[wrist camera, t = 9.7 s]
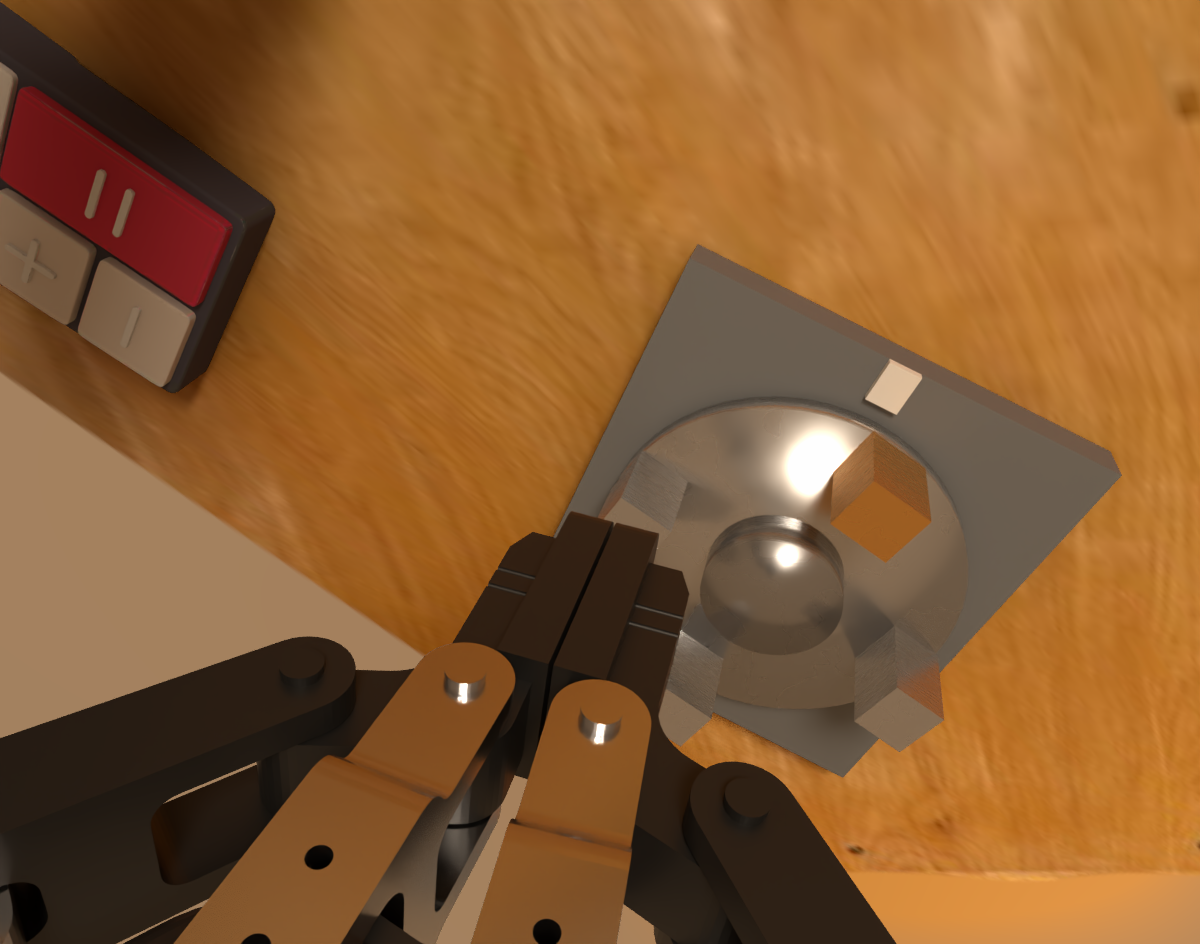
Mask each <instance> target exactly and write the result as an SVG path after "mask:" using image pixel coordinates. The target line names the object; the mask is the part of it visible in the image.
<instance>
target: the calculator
mask: <svg viewBox="0 0 1200 944" xmlns="http://www.w3.org/2000/svg"><path fill="white" fill-rule="evenodd" d="M274 215H275V208H274V206H273V204H272V203H271V202H270V201H269V200H268V199H267V198H265V197H264V196H263V195H261V194H260V193H259V192H257V191H256V190H255V189H253V188H252V187H251V186H249V185H248V184H246V183H245V182H244V181H242V180H241V179H240V178H238V177H237V176H236V175H234V174H233V173H232V172H230V171H229V170H227V169H226V168H225V167H223V166H222V165H221V164H219V163H218V162H217V161H215V160H214V159H212V158H211V157H210V156H208V155H207V154H206V153H204V152H203V151H202V150H200V149H199V148H197V147H196V146H195V145H193V144H192V143H191V142H189V141H188V140H187V139H185V138H184V137H182V136H181V135H180V134H178V133H177V132H175V131H174V130H173V129H171V128H170V127H168V126H167V125H165V124H164V123H163V122H161V121H160V120H158V119H157V118H155V117H154V116H153V115H151V114H150V113H148V112H147V111H145V110H144V109H143V108H141V107H140V106H138V105H137V104H135V103H134V102H133V101H131V100H130V99H128V98H127V97H125V96H124V95H123V94H121V93H120V92H118V91H117V90H115V89H114V88H113V87H111V86H110V85H108V84H107V83H105V82H104V81H103V80H101V79H100V78H98V77H97V76H95V75H94V74H93V73H91V72H90V71H88V70H87V69H86V68H84V67H83V66H81V65H80V64H79V63H78V61H77V60H76V58H75V57H74V56H73V55H71V54H70V53H69V52H67V51H66V50H65V49H63V48H62V47H61V46H59V45H58V44H57V43H55V42H54V41H53V40H51V39H50V38H48V37H47V36H46V35H44V34H43V33H42V32H40V31H39V30H38V29H36V28H35V27H33V26H32V25H31V24H29V23H28V22H27V21H25V20H24V19H23V18H21V17H20V16H19V15H17V14H16V13H14V12H13V11H12V10H10V9H9V8H8V7H6V6H5V5H3V4H2V3H0V284H1V285H3V286H4V287H6V288H7V289H9V290H10V291H12V292H14V293H15V294H17V295H18V296H20V297H21V298H23V299H24V300H26V301H27V302H29V303H30V304H32V305H33V306H35V307H37V308H38V309H40V310H41V311H43V312H44V313H46V314H47V315H49V316H50V317H52V318H53V319H55V320H57V321H58V322H60V323H62V324H64V325H66V326H68V327H69V328H71V329H72V330H74V331H76V332H77V333H79V334H80V336H82V337H83V338H84V339H86V340H87V341H89V342H90V343H92V344H93V345H95V346H97V347H98V348H100V349H101V350H103V351H104V352H106V353H107V354H109V355H110V356H112V357H113V358H115V359H116V360H118V361H120V362H121V363H123V364H124V365H126V366H127V367H129V368H130V369H132V370H133V371H135V372H136V373H138V374H140V375H141V376H143V377H144V378H146V379H147V380H149V381H150V382H152V383H153V384H155V385H157V386H159V387H162V388H163V389H165V390H166V391H168V392H170V393H176V392H178V391H179V390H181V389H182V388H184V387H185V386H186V385H188V384H189V383H190V382H192V381H193V380H194V379H196V378H197V377H198V376H200V375H201V374H202V373H204V372H205V371H206V370H207V368H208V366H209V364H210V361H211V359H212V357H213V354H214V352H215V350H216V348H217V345H218V343H219V341H220V339H221V336H222V334H223V332H224V329H225V327H226V325H227V323H228V320H229V318H230V316H231V314H232V311H233V309H234V307H235V304H236V302H237V300H238V298H239V295H240V293H241V291H242V289H243V286H244V284H245V282H246V279H247V277H248V275H249V273H250V270H251V268H252V266H253V263H254V261H255V259H256V257H257V254H258V252H259V250H260V248H261V245H262V243H263V241H264V238H265V236H266V234H267V232H268V229H269V227H270V225H271V222H272V220H273V218H274Z"/></svg>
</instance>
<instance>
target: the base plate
mask: <svg viewBox="0 0 1200 944" xmlns="http://www.w3.org/2000/svg"><path fill="white" fill-rule="evenodd" d="M773 396H779V397H792V398H803V399H808V400H813V401H818V402H823V403H829V404H832V405H835V406H838V407H841V408H844V409H847V410H850V411H853V412H855V413H858V414H860V415H862V416H864V417H866V418H868V419H870V420H873V421H875V422H877V423H879V424H880V425H882V426H883V427H885V428H887V429H888V430H890V431H891V432H893V433H895V434H896V435H898V436H899V437H900V438H902V439H903V440H904V441H905V442H906V443H908V444H909V445H910V446H911V447H913V448H914V449H915V450H916V451H917V452H918V453H919V454H920V455H921V456H922V457H923V458H924V459H925V460H926V461H927V462H928V463H929V464H930V466H931V467H932V468H933V469H934V470H935V472H936V473H937V474H938V476H939V477H940V479H941V480H942V482H943V483H944V485H945V486H946V487H947V489H948V491H949V493H950V495H951V497H952V499H953V502H954V504H955V506H956V508H957V511H958V514H959V517H960V520H961V524H962V527H963V532H964V538H965V544H966V551H967V559H968V586H967V591H966V596H965V600H964V605H963V608H962V611H961V613H960V616H959V618H958V620H957V623H956V625H955V627H954V629H953V630H952V632H951V634H950V635H949V637H948V639H947V640H946V642H945V643H944V644H943V646H942V647H941V648H940V649H939V650H938V652H937V653H936V655H938V664H939V673H940V672H941V671H942V670H943V669H944V667H945V666H946V665H947V664H948V663H949V662H950V661H951V660H952V659H953V658H954V657H955V656H956V654H957V653H958V652H959V651H960V650H961V649H962V648H963V647H964V646H965V645H966V644H967V643H968V641H969V640H970V639H971V638H972V637H973V636H974V635H975V634H976V633H977V632H978V631H979V630H980V628H981V627H982V626H983V625H984V624H985V623H986V622H987V621H988V620H989V619H990V618H991V617H992V615H993V614H994V613H995V612H996V611H997V610H998V609H999V608H1000V607H1001V606H1002V605H1003V604H1004V602H1005V601H1006V600H1007V599H1008V598H1009V597H1010V596H1011V595H1012V594H1013V593H1014V592H1015V591H1016V589H1017V588H1018V587H1019V586H1020V585H1021V584H1022V583H1023V582H1024V581H1025V580H1026V579H1027V578H1028V576H1029V575H1030V574H1031V573H1032V572H1033V571H1034V570H1035V569H1036V568H1037V567H1038V566H1039V565H1040V563H1041V562H1042V561H1043V560H1044V559H1045V558H1046V557H1047V556H1048V555H1049V554H1050V553H1051V552H1052V550H1053V549H1054V548H1055V547H1056V546H1057V545H1058V544H1059V543H1060V542H1061V541H1062V540H1063V539H1064V537H1065V536H1066V535H1067V534H1068V533H1069V532H1070V531H1071V530H1072V529H1073V528H1074V527H1075V526H1076V524H1077V523H1078V522H1079V521H1080V520H1081V519H1082V518H1083V517H1084V516H1085V515H1086V514H1087V513H1088V511H1089V510H1090V509H1091V508H1092V507H1093V506H1094V505H1095V504H1096V503H1097V502H1098V501H1099V499H1100V498H1101V497H1102V496H1103V495H1104V494H1105V493H1106V492H1107V491H1108V490H1109V489H1110V488H1111V486H1112V485H1113V484H1114V483H1115V482H1116V481H1117V480H1118V479H1119V478H1120V477H1121V476H1122V475H1121V473H1120V471H1119V468H1118V466H1117V464H1116V462H1115V460H1114V458H1113V456H1112V454H1111V452H1110V451H1108V450H1106V449H1104V448H1102V447H1100V446H1098V445H1096V444H1094V443H1092V442H1090V441H1088V440H1086V439H1084V438H1082V437H1080V436H1078V435H1076V434H1074V433H1072V432H1070V431H1068V430H1066V429H1064V428H1062V427H1060V426H1058V425H1056V424H1054V423H1052V422H1050V421H1048V420H1047V419H1045V418H1043V417H1041V416H1039V415H1037V414H1035V413H1033V412H1031V411H1029V410H1027V409H1025V408H1023V407H1021V406H1019V405H1017V404H1015V403H1013V402H1011V401H1009V400H1007V399H1005V398H1003V397H1001V396H999V395H997V394H995V393H993V392H991V391H989V390H987V389H985V388H983V387H981V386H979V385H977V384H975V383H973V382H971V381H969V380H967V379H965V378H963V377H961V376H959V375H957V374H955V373H953V372H951V371H949V370H947V369H945V368H943V367H941V366H939V365H937V364H935V363H933V362H931V361H929V360H927V359H925V358H923V357H921V356H919V355H917V354H915V353H913V352H911V351H909V350H907V349H905V348H903V347H901V346H899V345H897V344H895V343H893V342H891V341H889V340H887V339H885V338H883V337H881V336H879V335H877V334H875V333H873V332H871V331H869V330H867V329H865V328H864V327H862V326H860V325H858V324H856V323H854V322H852V321H850V320H848V319H846V318H844V317H842V316H840V315H838V314H836V313H834V312H832V311H830V310H828V309H826V308H824V307H822V306H820V305H818V304H816V303H814V302H812V301H810V300H808V299H806V298H804V297H802V296H800V295H798V294H796V293H794V292H792V291H790V290H788V289H786V288H784V287H782V286H780V285H778V284H776V283H774V282H772V281H770V280H768V279H766V278H764V277H762V276H760V275H758V274H756V273H754V272H752V271H750V270H748V269H746V268H744V267H742V266H740V265H738V264H736V263H734V262H732V261H730V260H728V259H726V258H724V257H722V256H720V255H718V254H716V253H714V252H712V251H710V250H708V249H706V248H704V247H702V246H700V245H697V247H696V248H695V250H694V252H693V254H692V255H691V257H690V259H689V261H688V263H687V265H686V267H685V269H684V271H683V273H682V275H681V277H680V279H679V282H678V284H677V286H676V288H675V290H674V292H673V294H672V296H671V298H670V300H669V302H668V304H667V306H666V308H665V310H664V312H663V314H662V316H661V318H660V320H659V322H658V324H657V326H656V329H655V331H654V333H653V335H652V337H651V339H650V341H649V343H648V345H647V347H646V349H645V351H644V353H643V355H642V357H641V359H640V361H639V363H638V365H637V367H636V369H635V371H634V373H633V376H632V378H631V380H630V382H629V384H628V386H627V388H626V390H625V392H624V394H623V396H622V398H621V400H620V402H619V404H618V406H617V408H616V410H615V412H614V414H613V416H612V418H611V420H610V423H609V425H608V427H607V429H606V431H605V433H604V435H603V437H602V439H601V441H600V443H599V445H598V447H597V449H596V451H595V453H594V455H593V457H592V459H591V461H590V463H589V465H588V467H587V470H586V472H585V474H584V476H583V478H582V480H581V482H580V484H579V486H578V488H577V490H576V492H575V494H574V496H573V498H572V500H571V502H570V504H569V506H568V508H567V510H566V512H565V514H564V517H563V519H562V521H561V523H560V525H559V527H558V529H557V531H556V533H555V535H554V538H556V537H557V535H558V533H559V531H560V529H561V527H562V526H563V524H564V522H565V520H566V518H567V516H568V514H569V513H570V512H571V511H573V512H577V513H581V514H585V515H589V516H593V517H597V518H598V516H599V514H600V511H601V509H602V507H603V505H604V503H605V501H606V499H607V497H608V495H609V492H610V490H611V489H612V488H613V486H614V485H615V484H616V483H617V481H618V480H619V478H620V475H621V473H622V472H623V470H624V469H625V468H626V466H627V465H628V463H629V462H630V460H631V459H632V457H633V456H634V455H635V454H636V453H637V452H638V451H639V450H640V449H641V447H642V446H643V445H644V444H645V443H646V442H647V441H648V440H650V439H651V438H652V437H653V436H655V435H656V434H657V433H658V432H660V431H661V430H662V429H663V428H665V427H667V426H668V425H670V424H672V423H673V422H675V421H677V420H678V419H680V418H682V417H684V416H686V415H688V414H691V413H693V412H695V411H698V410H700V409H702V408H705V407H709V406H712V405H715V404H719V403H722V402H726V401H731V400H738V399H744V398H750V397H773ZM854 704H855V702H851V703H847V704H843V705H839V706H832V707H825V708H816V709H784V708H771V707H765V706H759V705H752V704H748V703H744V702H740V701H737V700H733V699H729V698H727V697H724V696H721V695H718V694H716V698H715V703H714V708H713V712H714V713H716V714H718V715H720V716H722V717H724V718H726V719H728V720H730V721H732V722H734V723H736V724H738V725H740V726H742V727H744V728H746V729H748V730H750V731H752V732H754V733H756V734H758V735H760V736H761V737H763V738H765V739H767V740H769V741H771V742H773V743H775V744H777V745H779V746H781V747H783V748H785V749H787V750H789V751H791V752H793V753H795V754H797V755H799V756H801V757H803V758H805V759H807V760H809V761H811V762H813V763H815V764H817V765H819V766H821V767H823V768H825V769H827V770H829V771H831V772H833V773H835V774H837V775H839V776H841V777H844V776H845V775H846V774H847V773H848V772H849V770H850V769H851V768H852V767H853V766H854V765H855V764H856V763H857V762H858V761H859V760H860V759H861V757H862V756H863V755H864V754H865V753H866V752H867V751H868V750H869V749H870V748H871V747H872V745H873V744H874V743H875V742H876V741H877V740H878V739H879V738H878V737H877V736H875V735H874V734H872V733H871V732H869V731H868V730H866V729H865V728H863V727H862V726H861V725H859V724H858V723H856V722H855V721H854Z"/></svg>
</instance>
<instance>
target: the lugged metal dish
mask: <svg viewBox="0 0 1200 944" xmlns="http://www.w3.org/2000/svg"><path fill="white" fill-rule="evenodd" d="M598 518H600V519H604V520H608V521H612V522H614V526H615V524H616V523H620V524H624V525H628V526H632V527H636V528H640V529H644V530H648V531H651V532H655V533H659V540H658V545H657V550H656V555H655V560H654V564H657V565H661V566H664V567H668V568H672V569H676V570H679V571H682V572H683V576H684V579H685V582H686V585H687V588H688V591H689V598H688V602H687V606H686V610H685V615H684V619H683V623H682V627H681V631H680V636H679V640H678V644H677V648H676V652H675V656H674V661H673V665H672V668H671V672H670V676H669V679H668V683H667V686H666V690H665V694H664V698H663V701H662V705H661V709H660V712H659V721H660V725H661V727H662V729H663V732H664V733H665V735H666V736H667V738H669V739H670V740H672V741H673V742H675V743H676V744H678V745H679V746H681V745H683V744H684V743H685V742H686V741H687V740H688V739H689V738H690V737H691V736H693V735H694V734H695V733H696V732H697V731H698V730H699V729H700V728H702V727H703V726H704V725H705V724H706V723H707V722H708V721H709V720H711V717H712V712H713V708H714V703H715V698H716V694H718V695H721V696H724V697H727V698H729V699H733V700H737V701H740V702H744V703H748V704H752V705H759V706H765V707H771V708H784V709H816V708H825V707H832V706H839V705H843V704H847V703H851V702H855V704H854V721H855V722H856V723H858V724H859V725H861V726H862V727H863V728H865V729H866V730H868V731H869V732H871V733H872V734H874V735H875V736H877V737H878V738H880V739H881V740H883V741H884V742H885V743H887V744H888V745H890V746H891V747H893V748H894V749H896V750H897V751H899V752H900V751H902V750H903V749H905V748H906V747H907V746H909V745H910V744H912V743H913V742H914V741H916V740H917V739H919V738H920V737H921V736H923V735H924V734H925V733H927V732H928V731H930V730H931V729H932V728H934V727H935V726H937V725H938V724H939V723H941V722H942V721H943V720H944V714H943V704H942V694H941V684H940V674H939V664H938V655H936V653H937V652H938V650H939V649H940V648H941V647H942V646H943V644H944V643H945V642H946V640H947V639H948V637H949V635H950V634H951V632H952V630H953V629H954V627H955V625H956V623H957V620H958V618H959V616H960V613H961V611H962V608H963V605H964V600H965V596H966V591H967V586H968V559H967V551H966V544H965V538H964V532H963V527H962V524H961V520H960V517H959V514H958V511H957V508H956V506H955V504H954V502H953V499H952V497H951V495H950V493H949V491H948V489H947V487H946V486H945V485H944V483H943V482H942V480H941V479H940V477H939V476H938V474H937V473H936V472H935V470H934V469H933V468H932V467H931V466H930V464H929V463H928V462H927V461H926V460H925V459H924V458H923V457H922V456H921V455H920V454H919V453H918V452H917V451H916V450H915V449H914V448H913V447H911V446H910V445H909V444H908V443H906V442H905V441H904V440H903V439H902V438H900V437H899V436H898V435H896V434H895V433H893V432H891V431H890V430H888V429H887V428H885V427H883V426H882V425H880V424H879V423H877V422H875V421H873V420H870V419H868V418H866V417H864V416H862V415H860V414H858V413H855V412H853V411H850V410H847V409H844V408H841V407H838V406H835V405H832V404H829V403H823V402H818V401H813V400H808V399H803V398H792V397H779V396H773V397H750V398H744V399H738V400H731V401H726V402H722V403H719V404H715V405H712V406H709V407H705V408H702V409H700V410H698V411H695V412H693V413H691V414H688V415H686V416H684V417H682V418H680V419H678V420H677V421H675V422H673V423H672V424H670V425H668V426H667V427H665V428H663V429H662V430H661V431H660V432H658V433H657V434H656V435H655V436H653V437H652V438H651V439H650V440H648V441H647V442H646V443H645V444H644V445H643V446H642V447H641V449H640V450H639V451H638V452H637V453H636V454H635V455H634V456H633V457H632V459H631V460H630V462H629V463H628V465H627V466H626V468H625V469H624V470H623V472H622V473H621V475H620V478H619V480H618V481H617V483H616V484H615V485H614V486H613V488H612V489H611V490H610V492H609V495H608V497H607V499H606V501H605V503H604V505H603V507H602V509H601V511H600V514H599V516H598Z"/></svg>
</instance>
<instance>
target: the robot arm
mask: <svg viewBox="0 0 1200 944" xmlns="http://www.w3.org/2000/svg"><path fill="white" fill-rule="evenodd" d="M658 540H659V533H655V532H651V531H648V530H644V529H640V528H636V527H632V526H628V525H624V524H620V523H616V524H615V526H614V522H612V521H608V520H604V519H600V518H597V517H593V516H589V515H585V514H581V513H577V512H573V511H571V512H570V513H569V514H568V516H567V518H566V520H565V522H564V524H563V526H562V527H561V529H560V531H559V533H558V535H557V537H556V538H554V537H550V536H546V535H542V534H538V533H535V532H532V533H530V534H529V535H527V536H526V537H524V538H523V539H521V540H519V541H518V542H516V543H515V544H513V545H512V546H510V548H509V549H508V551H507V553H506V554H505V556H504V558H503V559H502V561H501V563H500V564H499V566H498V570H496V571H495V573H494V574H493V576H492V578H491V580H490V581H489V584H488V587H487V586H486V588H485V590H484V591H483V593H482V595H481V596H480V598H479V600H478V601H477V603H476V605H475V606H474V608H473V610H472V611H471V613H470V615H469V616H468V618H467V620H466V621H465V623H464V625H463V626H462V628H461V630H460V631H459V633H458V635H457V636H456V638H455V640H454V641H453V643H452V644H448V645H444V646H441V647H439V648H436V649H435V650H433V651H431V652H430V653H428V654H427V655H426V656H424V657H423V659H422V660H421V661H420V662H419V663H418V665H417V666H416V667H415V668H413V669H409V670H401V671H372V670H371V671H370V670H356V669H355V668H356V667H355V662H354V659H353V657H352V655H351V654H350V653H349V652H348V650H347V649H346V648H344V647H343V646H342V645H340V644H338V643H336V642H334V641H332V640H329V639H325V638H319V637H297V638H292V639H288V640H284V641H281V642H279V643H275V644H272V645H269V646H267V647H264V648H261V649H258V650H255V651H252V652H249V653H246V654H243V655H240V656H238V657H235V658H232V659H229V660H226V661H223V662H220V663H217V664H214V665H211V666H208V667H206V668H203V669H200V670H197V671H194V672H191V673H188V674H185V675H183V676H180V677H177V678H174V679H171V680H168V681H165V682H162V683H159V684H156V685H153V686H151V687H148V688H145V689H142V690H139V691H136V692H133V693H130V694H127V695H125V696H121V697H119V698H116V699H113V700H110V701H107V702H104V703H101V704H98V705H95V706H92V707H90V708H87V709H84V710H81V711H79V712H75V713H72V714H70V715H67V716H63V717H61V718H58V719H55V720H52V721H49V722H46V723H43V724H40V725H37V726H35V727H32V728H29V729H26V730H23V731H20V732H17V733H14V734H11V735H8V736H5V737H3V738H0V944H116V943H118V942H120V941H122V940H124V939H126V938H129V937H131V936H133V935H135V934H137V933H139V932H141V931H143V930H145V929H147V928H149V927H151V926H153V925H155V924H157V923H159V922H161V921H163V920H166V919H168V918H170V917H172V916H174V915H175V914H178V913H180V912H182V911H184V910H186V909H188V908H190V907H192V906H194V905H196V904H199V903H200V902H203V901H204V900H207V899H209V900H208V901H207V902H206V903H205V904H204V906H203V907H200V908H197V909H194V910H191V911H189V912H187V913H184V914H181V915H179V916H176V917H174V918H172V919H170V920H168V921H166V922H164V923H162V924H160V925H158V926H156V927H154V928H152V929H150V930H148V931H146V932H145V933H143V934H141V935H139V936H137V937H135V938H133V939H131V940H129V941H127V942H125V943H124V944H436V941H437V939H438V936H439V934H440V931H441V929H442V927H443V925H444V923H445V921H446V919H447V917H448V915H449V913H450V911H451V909H452V908H453V906H454V904H455V902H456V900H457V898H458V896H459V894H460V892H461V890H462V888H463V887H464V885H465V883H466V881H467V879H468V877H469V875H470V873H471V871H472V869H473V868H474V866H475V864H476V862H477V860H478V858H479V856H480V854H481V852H482V850H483V848H484V847H485V845H486V843H487V841H488V839H489V837H490V835H491V833H492V831H493V829H494V828H495V826H496V824H497V821H498V819H499V816H500V810H501V804H502V802H503V800H504V798H505V796H506V794H507V792H508V789H509V787H510V785H511V782H512V780H513V778H514V775H516V776H519V777H523V778H526V779H528V781H527V784H526V787H525V790H524V793H523V797H522V800H521V803H520V806H519V810H518V813H517V816H516V818H515V819H511V820H510V822H509V825H508V827H507V830H506V833H505V836H504V839H503V842H502V845H501V848H500V851H499V855H498V858H497V861H496V864H495V868H494V871H493V874H492V877H491V880H490V883H489V887H488V890H487V893H486V896H485V899H484V902H483V906H482V909H481V912H480V915H479V918H478V922H477V925H476V928H475V931H474V935H473V937H472V941H471V944H617V938H618V932H619V926H620V920H621V915H622V909H623V904H624V905H626V906H627V907H629V908H630V909H631V910H633V911H634V912H635V913H637V914H638V915H640V916H641V917H643V918H644V919H645V920H647V921H648V922H649V923H651V924H652V925H654V935H655V940H656V944H896V942H895V941H894V940H893V938H892V937H891V935H890V934H889V933H888V931H887V929H886V928H885V927H884V925H883V924H882V922H881V921H880V919H879V918H878V917H877V915H876V914H875V912H874V911H873V909H872V908H871V907H870V905H869V904H868V902H867V901H866V899H865V898H864V896H863V895H862V894H861V893H860V891H859V890H858V888H857V887H856V885H855V884H854V882H853V881H852V880H851V878H850V876H849V875H848V874H847V872H846V871H845V869H844V868H843V866H842V865H841V863H840V862H839V861H838V859H837V858H836V856H835V855H834V853H833V852H832V851H831V849H830V848H829V846H828V845H827V843H826V842H825V841H824V839H823V838H822V836H821V835H820V833H819V832H818V830H817V829H816V828H815V826H814V825H813V823H812V822H811V820H810V819H809V818H808V816H807V815H806V813H805V812H804V810H803V809H802V808H801V806H800V805H799V803H798V802H797V800H796V799H795V797H794V796H793V795H792V793H791V792H790V791H789V789H788V788H787V787H786V786H785V785H784V784H783V783H782V782H781V781H780V780H779V779H778V778H777V777H775V776H774V775H772V774H771V773H769V772H767V771H766V770H764V769H762V768H759V767H757V766H754V765H751V764H747V763H742V762H723V763H718V764H715V765H712V766H710V767H708V768H707V769H706V768H704V767H703V766H701V765H699V764H698V763H696V762H694V761H693V760H691V759H690V758H688V757H687V756H685V755H684V754H682V753H681V752H680V751H679V750H678V749H677V748H676V747H674V745H673V744H672V743H671V742H670V741H669V740H668V738H667V736H666V735H665V733H664V732H663V729H662V727H661V725H660V721H659V712H660V709H661V705H662V701H663V698H664V694H665V690H666V686H667V683H668V679H669V676H670V672H671V668H672V665H673V661H674V656H675V652H676V648H677V644H678V640H679V636H680V631H681V627H682V623H683V619H684V615H685V610H686V606H687V602H688V598H689V591H688V588H687V585H686V582H685V579H684V576H683V572H682V571H679V570H676V569H672V568H668V567H664V566H661V565H657V564H654V560H655V555H656V550H657V545H658ZM255 762H257V765H255V766H253V767H250V768H248V769H245V770H243V771H241V772H238V773H236V774H234V775H231V776H229V777H226V778H224V779H222V780H219V781H217V782H215V783H212V784H210V785H207V786H205V787H202V788H200V789H198V790H195V791H193V792H190V793H188V794H186V795H183V796H181V797H178V798H176V799H174V800H171V801H169V802H167V803H165V802H166V801H167V800H169V799H170V798H172V797H174V796H176V795H178V794H180V793H182V792H185V791H187V790H190V789H192V788H194V787H197V786H199V785H202V784H204V783H207V782H209V781H211V780H214V779H216V778H219V777H221V776H223V775H226V774H228V773H231V772H233V771H235V770H238V769H240V768H243V767H245V766H247V765H250V764H252V763H255ZM163 803H164V804H163Z"/></svg>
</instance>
